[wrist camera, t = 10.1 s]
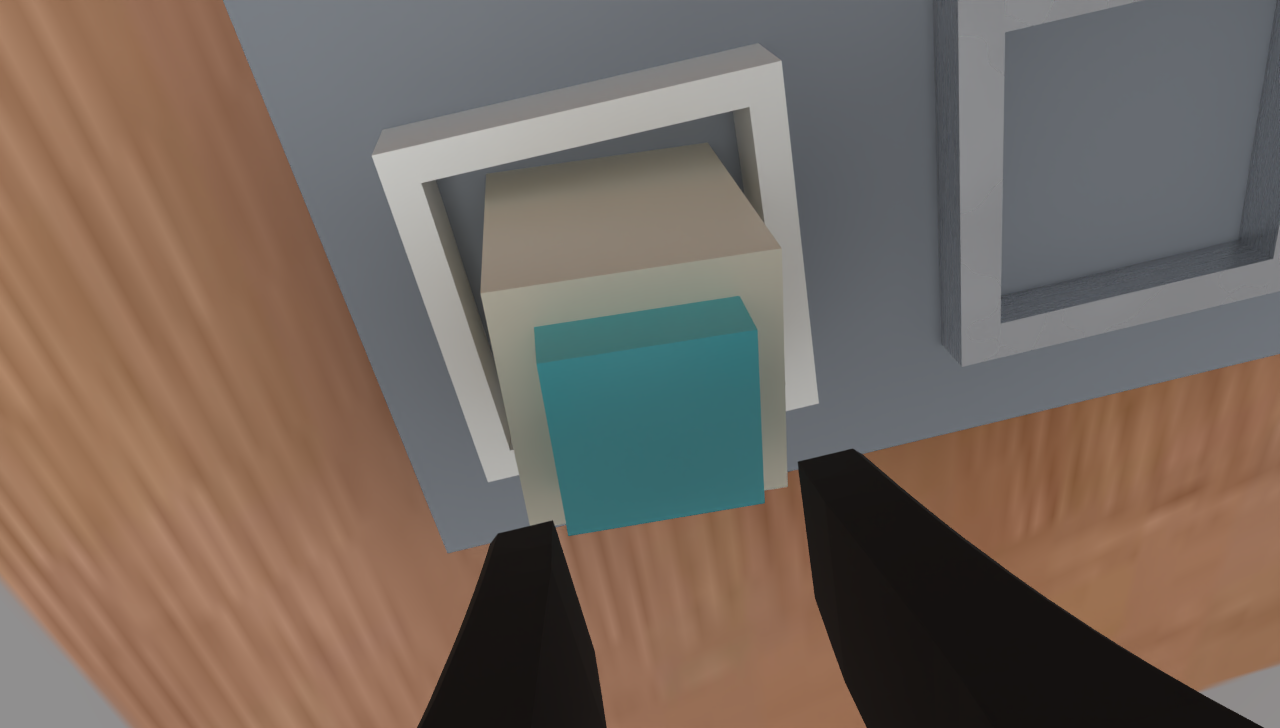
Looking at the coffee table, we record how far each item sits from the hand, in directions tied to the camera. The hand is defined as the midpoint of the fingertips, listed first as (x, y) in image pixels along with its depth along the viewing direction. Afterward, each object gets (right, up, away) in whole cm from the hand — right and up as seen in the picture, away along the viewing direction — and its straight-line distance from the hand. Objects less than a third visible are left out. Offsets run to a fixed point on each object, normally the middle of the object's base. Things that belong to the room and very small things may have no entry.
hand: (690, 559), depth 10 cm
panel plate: (+4, +6, +8) cm, 11 cm away
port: (-1, +5, +8) cm, 9 cm away
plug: (-1, +4, +7) cm, 8 cm away
